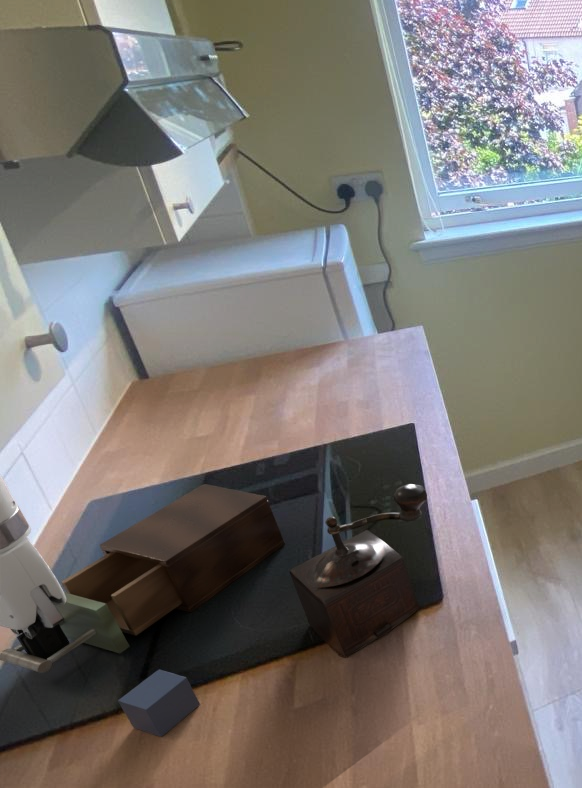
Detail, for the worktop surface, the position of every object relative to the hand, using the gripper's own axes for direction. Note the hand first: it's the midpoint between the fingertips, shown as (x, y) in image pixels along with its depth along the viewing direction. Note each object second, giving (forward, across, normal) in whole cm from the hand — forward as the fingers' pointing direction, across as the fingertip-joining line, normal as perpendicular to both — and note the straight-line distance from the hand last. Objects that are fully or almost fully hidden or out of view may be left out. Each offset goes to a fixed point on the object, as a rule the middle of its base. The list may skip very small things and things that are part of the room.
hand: (51, 652), depth 91 cm
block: (+3, +20, -1) cm, 20 cm away
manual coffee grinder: (+3, +32, +19) cm, 38 cm away
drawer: (+2, 0, +7) cm, 7 cm away
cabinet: (+3, 0, +19) cm, 19 cm away
